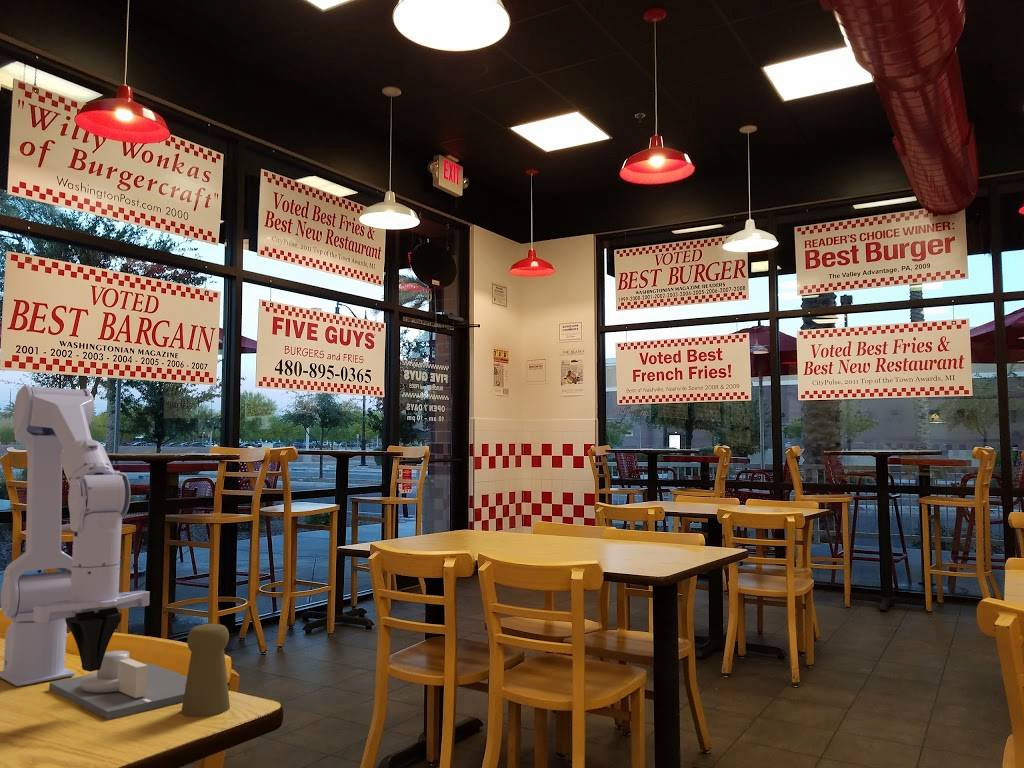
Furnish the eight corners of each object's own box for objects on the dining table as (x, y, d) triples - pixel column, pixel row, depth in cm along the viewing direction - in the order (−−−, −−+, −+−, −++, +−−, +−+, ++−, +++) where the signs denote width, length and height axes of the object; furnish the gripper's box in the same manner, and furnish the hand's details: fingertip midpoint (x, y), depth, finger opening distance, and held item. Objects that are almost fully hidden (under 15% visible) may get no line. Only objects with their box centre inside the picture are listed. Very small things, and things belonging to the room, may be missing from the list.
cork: (213, 718, 102) (216, 630, 103) (171, 715, 103) (174, 628, 104) (238, 704, 108) (241, 621, 109) (198, 701, 109) (201, 619, 110)
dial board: (49, 689, 114) (49, 681, 114) (149, 669, 125) (150, 662, 125) (107, 719, 101) (108, 710, 101) (214, 694, 112) (214, 686, 112)
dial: (71, 685, 112) (72, 654, 113) (128, 673, 118) (130, 644, 119) (110, 703, 104) (111, 670, 104) (170, 690, 110) (171, 659, 110)
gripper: (55, 573, 98) (49, 687, 97) (163, 561, 110) (159, 662, 109) (27, 569, 102) (21, 678, 101) (134, 557, 114) (130, 655, 113)
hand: (91, 669), depth 105 cm, fingers closed
